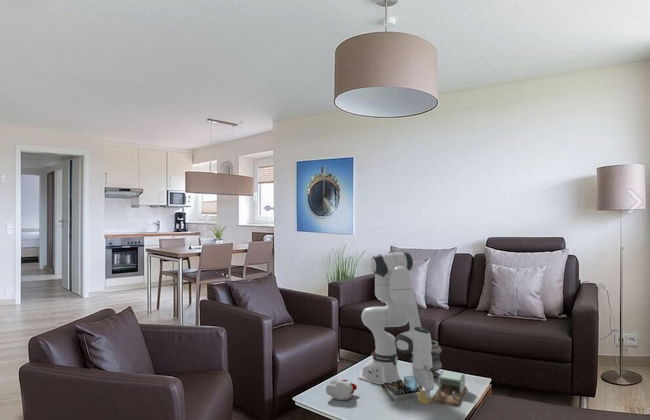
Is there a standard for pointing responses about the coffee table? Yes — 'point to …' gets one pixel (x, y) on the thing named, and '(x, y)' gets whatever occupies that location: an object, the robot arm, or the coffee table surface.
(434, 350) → the apothecary jar
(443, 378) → the housing cover
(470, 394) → the coffee table surface
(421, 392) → the yellow cube
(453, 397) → the housing base
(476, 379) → the coffee table surface
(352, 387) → the white red lumpy figurine
